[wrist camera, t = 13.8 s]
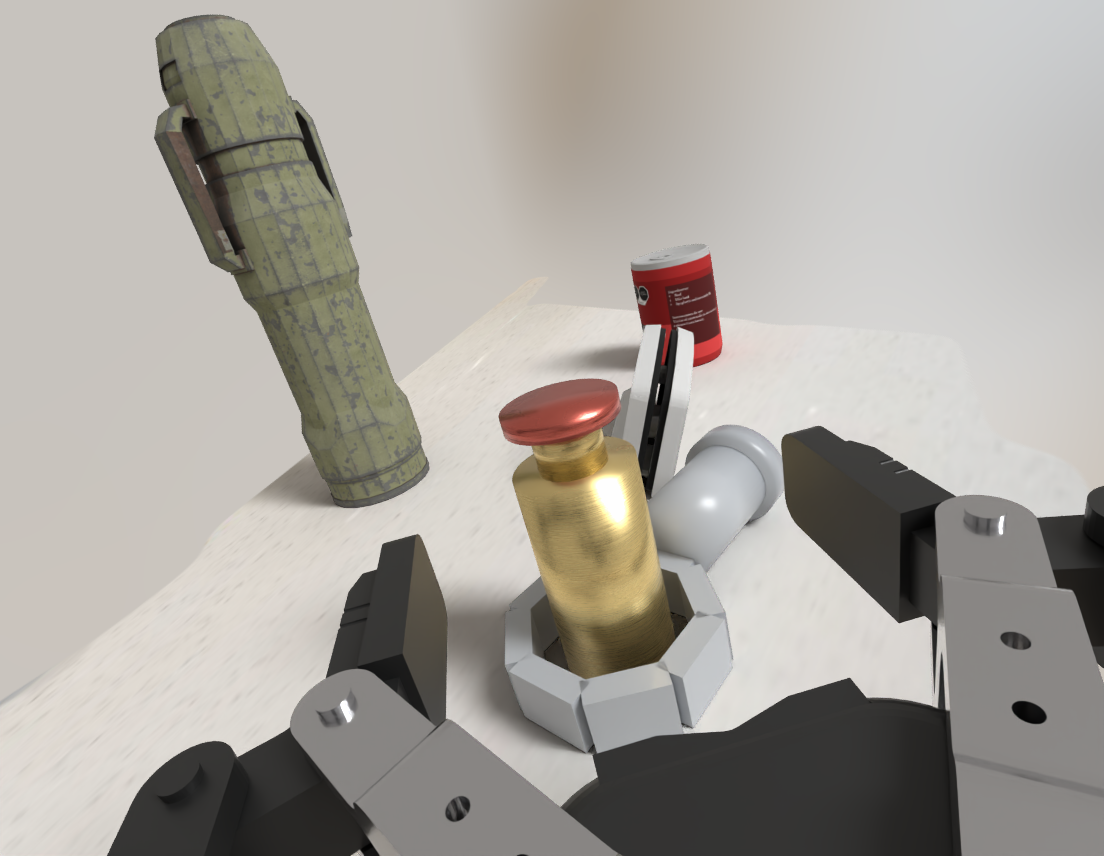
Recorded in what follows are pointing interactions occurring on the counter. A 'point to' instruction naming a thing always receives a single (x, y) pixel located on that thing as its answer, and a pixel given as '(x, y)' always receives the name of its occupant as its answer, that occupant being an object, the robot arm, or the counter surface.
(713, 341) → the canned food
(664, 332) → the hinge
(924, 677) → the counter surface
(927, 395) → the counter surface
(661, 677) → the grey octagonal holder
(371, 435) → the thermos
